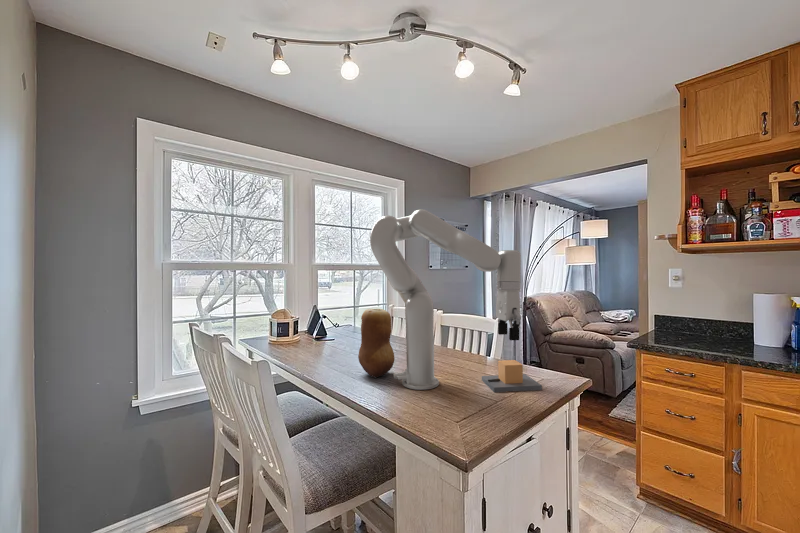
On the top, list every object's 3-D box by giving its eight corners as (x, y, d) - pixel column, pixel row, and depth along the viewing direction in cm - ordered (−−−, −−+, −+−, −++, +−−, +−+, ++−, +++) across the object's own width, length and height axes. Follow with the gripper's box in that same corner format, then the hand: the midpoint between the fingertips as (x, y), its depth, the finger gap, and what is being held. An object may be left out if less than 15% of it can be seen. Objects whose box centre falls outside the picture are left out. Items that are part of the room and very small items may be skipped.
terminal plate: (493, 392, 112) (493, 375, 112) (481, 380, 124) (481, 364, 124) (541, 389, 114) (541, 372, 114) (525, 378, 126) (525, 362, 126)
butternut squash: (401, 375, 132) (400, 308, 132) (375, 383, 122) (374, 312, 122) (377, 368, 141) (376, 306, 141) (350, 375, 132) (349, 309, 132)
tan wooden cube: (505, 383, 116) (505, 365, 116) (498, 378, 122) (498, 360, 122) (522, 382, 116) (522, 364, 116) (515, 377, 122) (514, 360, 122)
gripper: (489, 285, 127) (488, 332, 127) (508, 288, 110) (507, 342, 110) (509, 285, 128) (508, 332, 128) (531, 288, 111) (530, 342, 111)
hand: (508, 337), depth 119 cm, fingers open, 9 cm apart
